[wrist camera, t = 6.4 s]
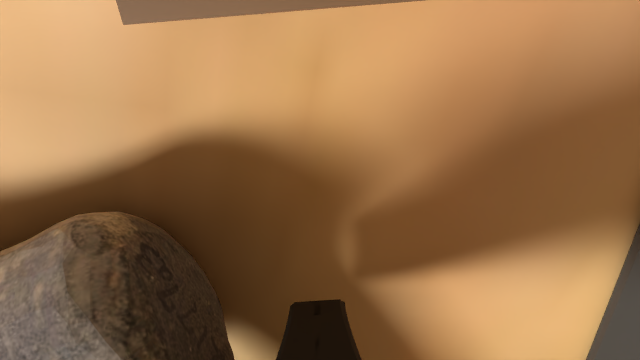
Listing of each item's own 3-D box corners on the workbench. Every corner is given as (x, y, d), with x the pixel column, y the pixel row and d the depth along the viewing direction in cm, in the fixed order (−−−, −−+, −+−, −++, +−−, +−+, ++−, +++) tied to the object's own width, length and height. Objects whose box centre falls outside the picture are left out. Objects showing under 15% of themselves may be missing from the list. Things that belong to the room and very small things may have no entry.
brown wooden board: (542, 422, 17) (575, 498, 15) (275, 439, 17) (271, 516, 15) (735, -122, 8) (891, -122, 6) (153, -72, 8) (99, -54, 6)
